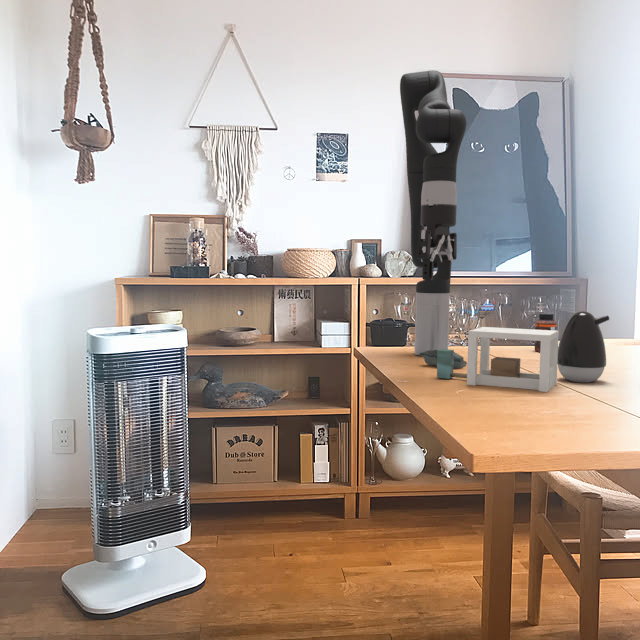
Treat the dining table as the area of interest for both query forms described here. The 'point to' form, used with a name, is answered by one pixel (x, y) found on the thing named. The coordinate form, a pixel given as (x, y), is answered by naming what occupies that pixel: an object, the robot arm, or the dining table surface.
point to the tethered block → (445, 370)
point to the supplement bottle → (544, 326)
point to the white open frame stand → (526, 380)
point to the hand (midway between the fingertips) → (436, 279)
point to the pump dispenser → (582, 348)
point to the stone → (431, 358)
